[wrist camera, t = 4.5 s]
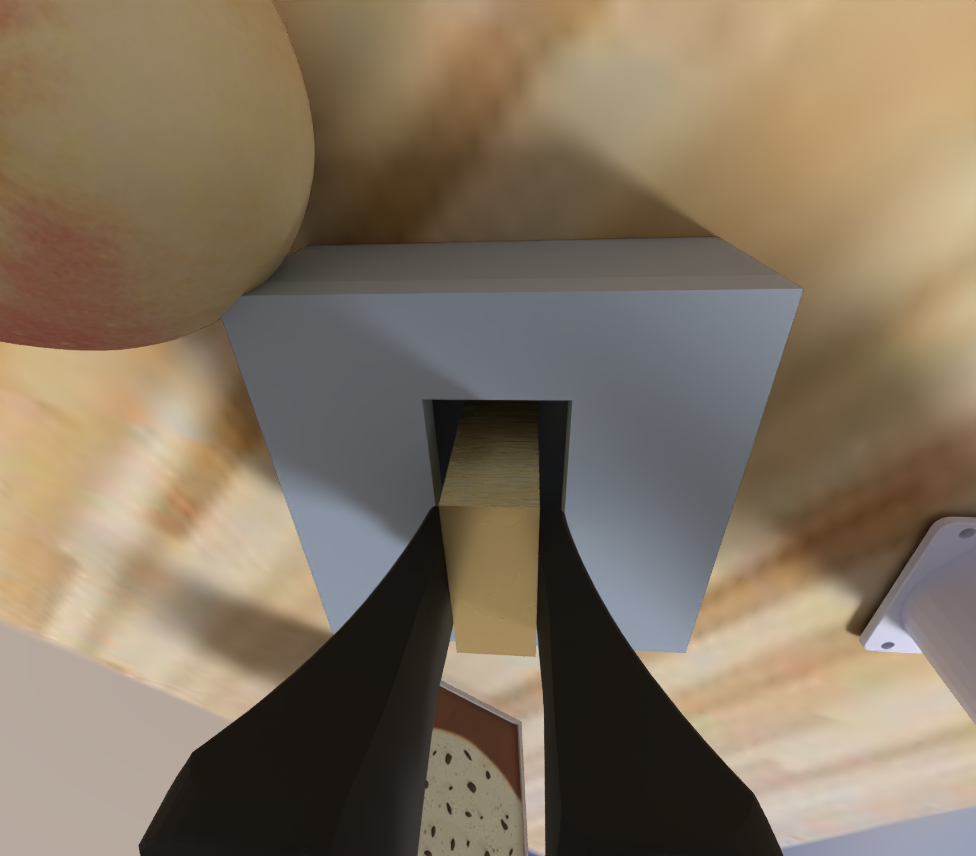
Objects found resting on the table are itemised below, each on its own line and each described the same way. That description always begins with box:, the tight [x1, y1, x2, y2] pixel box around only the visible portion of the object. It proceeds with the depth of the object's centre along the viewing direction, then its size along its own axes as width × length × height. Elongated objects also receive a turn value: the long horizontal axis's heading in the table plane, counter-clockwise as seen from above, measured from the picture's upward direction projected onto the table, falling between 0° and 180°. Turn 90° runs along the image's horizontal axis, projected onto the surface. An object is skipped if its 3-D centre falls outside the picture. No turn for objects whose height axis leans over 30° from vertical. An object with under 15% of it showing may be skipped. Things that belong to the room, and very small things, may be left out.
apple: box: [0, 0, 315, 350], centre depth 9 cm, size 9×9×8 cm
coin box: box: [221, 237, 803, 653], centre depth 15 cm, size 12×12×5 cm
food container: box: [418, 681, 528, 856], centre depth 25 cm, size 12×6×10 cm, turn 50°
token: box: [439, 400, 540, 657], centre depth 13 cm, size 2×5×5 cm, turn 2°
